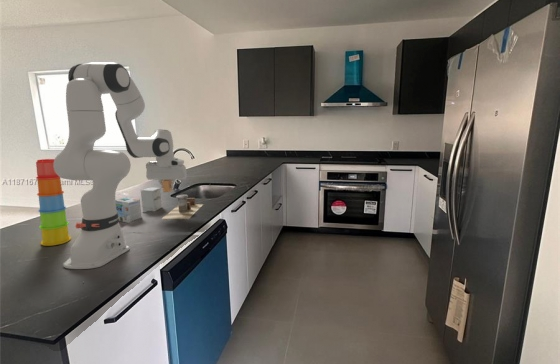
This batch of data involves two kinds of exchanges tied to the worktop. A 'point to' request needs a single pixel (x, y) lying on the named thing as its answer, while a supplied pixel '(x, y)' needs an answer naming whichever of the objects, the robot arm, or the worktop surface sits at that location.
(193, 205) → the winding board
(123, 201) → the light bulb box
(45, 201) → the stacking cups
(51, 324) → the worktop surface
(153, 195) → the supplement box
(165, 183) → the tab
